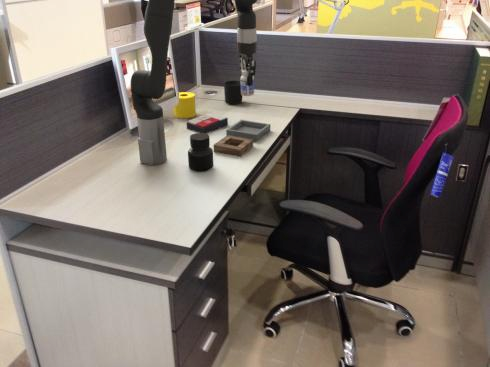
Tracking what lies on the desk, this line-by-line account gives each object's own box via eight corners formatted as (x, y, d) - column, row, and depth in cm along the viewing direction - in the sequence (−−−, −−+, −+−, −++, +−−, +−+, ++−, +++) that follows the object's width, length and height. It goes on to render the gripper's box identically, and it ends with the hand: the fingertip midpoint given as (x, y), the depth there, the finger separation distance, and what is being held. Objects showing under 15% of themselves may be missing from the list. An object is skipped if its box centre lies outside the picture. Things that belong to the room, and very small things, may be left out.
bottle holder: (240, 157, 179) (240, 149, 178) (213, 152, 184) (213, 144, 182) (253, 146, 188) (253, 139, 187) (227, 141, 193) (227, 135, 191)
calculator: (185, 121, 206) (210, 111, 215) (186, 130, 208) (211, 120, 218) (203, 126, 199) (227, 116, 209) (203, 136, 201) (228, 125, 211)
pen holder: (246, 101, 242) (246, 82, 238) (236, 106, 235) (236, 86, 231) (231, 98, 247) (230, 79, 242) (220, 103, 240) (220, 83, 235)
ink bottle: (219, 165, 172) (218, 134, 167) (205, 174, 165) (203, 142, 160) (197, 160, 177) (195, 129, 171) (182, 169, 170) (180, 137, 164)
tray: (256, 141, 193) (256, 134, 191) (226, 136, 198) (226, 129, 197) (270, 130, 204) (270, 124, 203) (241, 126, 210) (241, 119, 208)
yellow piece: (183, 110, 230) (181, 91, 226) (199, 113, 226) (199, 94, 221) (170, 115, 222) (168, 96, 218) (187, 119, 218) (185, 99, 214)
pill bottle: (253, 91, 194) (253, 68, 190) (255, 96, 190) (254, 71, 185) (240, 92, 194) (239, 69, 189) (241, 96, 189) (240, 72, 184)
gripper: (231, 37, 187) (232, 79, 194) (243, 44, 175) (244, 89, 182) (249, 36, 189) (250, 78, 197) (262, 42, 177) (262, 87, 185)
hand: (247, 83), depth 189 cm, fingers closed on pill bottle, 5 cm apart
